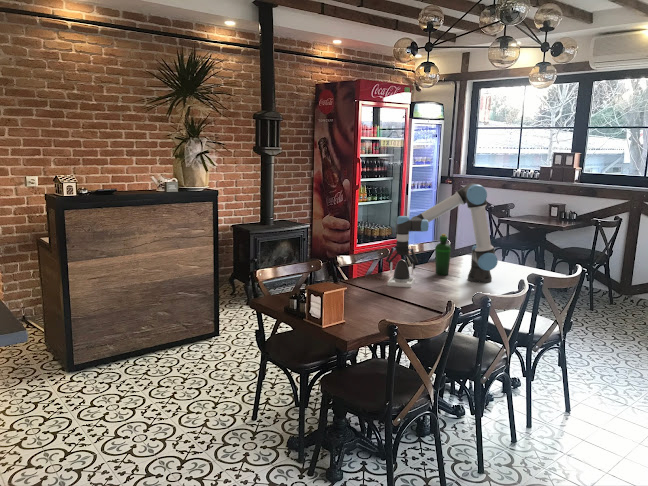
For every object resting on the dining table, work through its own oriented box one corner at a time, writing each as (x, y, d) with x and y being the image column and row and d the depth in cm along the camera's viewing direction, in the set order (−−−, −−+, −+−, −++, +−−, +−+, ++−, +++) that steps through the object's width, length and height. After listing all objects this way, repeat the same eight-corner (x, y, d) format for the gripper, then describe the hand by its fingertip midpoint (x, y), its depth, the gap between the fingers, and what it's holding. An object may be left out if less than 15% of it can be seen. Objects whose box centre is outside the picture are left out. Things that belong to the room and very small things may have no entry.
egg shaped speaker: (408, 281, 339) (409, 258, 337) (409, 285, 329) (410, 261, 326) (393, 280, 340) (393, 257, 338) (393, 284, 330) (394, 261, 327)
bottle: (452, 273, 362) (454, 233, 357) (446, 277, 353) (448, 236, 348) (437, 271, 367) (439, 232, 362) (431, 274, 358) (433, 234, 353)
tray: (414, 281, 340) (414, 278, 339) (411, 287, 326) (411, 283, 325) (391, 280, 344) (391, 276, 344) (387, 285, 330) (387, 281, 330)
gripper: (423, 240, 330) (422, 273, 333) (384, 238, 337) (383, 270, 341) (421, 242, 323) (420, 276, 326) (381, 240, 330) (381, 273, 334)
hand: (401, 273), depth 334 cm, fingers open, 13 cm apart
